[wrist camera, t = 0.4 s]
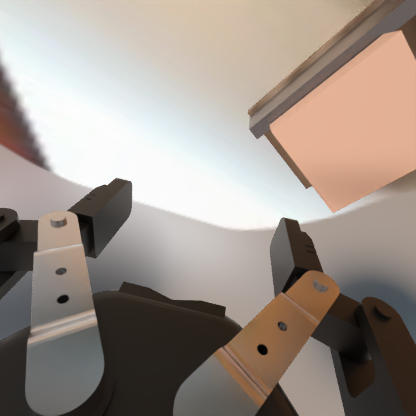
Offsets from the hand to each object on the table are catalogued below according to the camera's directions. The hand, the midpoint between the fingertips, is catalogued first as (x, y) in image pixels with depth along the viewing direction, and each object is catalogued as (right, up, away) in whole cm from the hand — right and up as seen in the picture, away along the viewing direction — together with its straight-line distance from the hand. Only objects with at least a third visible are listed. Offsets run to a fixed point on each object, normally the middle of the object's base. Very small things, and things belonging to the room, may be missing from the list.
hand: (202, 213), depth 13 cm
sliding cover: (+15, +8, +13) cm, 22 cm away
